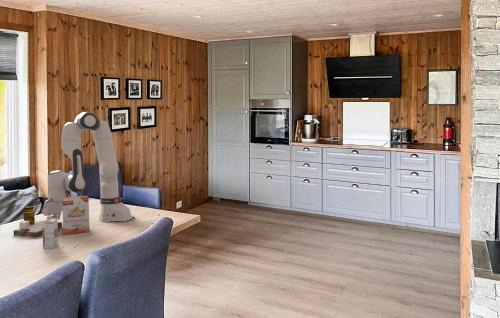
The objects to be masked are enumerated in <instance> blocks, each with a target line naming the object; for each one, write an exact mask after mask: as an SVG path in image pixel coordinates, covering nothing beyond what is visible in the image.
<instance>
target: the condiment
mask: <svg viewBox="0 0 500 318" xmlns="http://www.w3.org/2000/svg"><path fill="white" fill-rule="evenodd" d="M23 221H29V225H31V224H34V223H36V219H35V210H34V206H31V205H28V206H24V207H23Z"/></svg>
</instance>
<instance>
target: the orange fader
mask: <svg viewBox="0 0 500 318" xmlns="http://www.w3.org/2000/svg"><path fill="white" fill-rule="evenodd" d="M50 218H53V219H56V216H53V215H50V216H46V219H50Z"/></svg>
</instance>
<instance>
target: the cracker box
mask: <svg viewBox="0 0 500 318" xmlns="http://www.w3.org/2000/svg"><path fill="white" fill-rule="evenodd" d="M89 200H90V198H89V196H88V195H77V196H70V197H62V210H63V211H62V230H63V232H62V233H63V235H72V234H81V233H88V232H89V233H90V230H91V229H90V228H91V227H90V204H89V203H90V201H89Z"/></svg>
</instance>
